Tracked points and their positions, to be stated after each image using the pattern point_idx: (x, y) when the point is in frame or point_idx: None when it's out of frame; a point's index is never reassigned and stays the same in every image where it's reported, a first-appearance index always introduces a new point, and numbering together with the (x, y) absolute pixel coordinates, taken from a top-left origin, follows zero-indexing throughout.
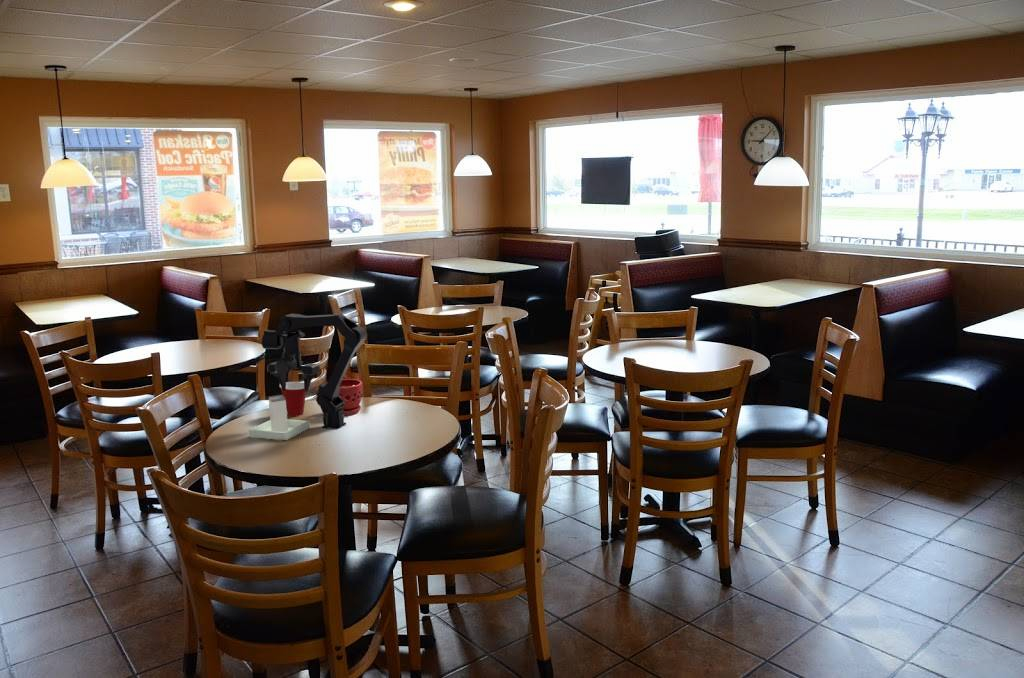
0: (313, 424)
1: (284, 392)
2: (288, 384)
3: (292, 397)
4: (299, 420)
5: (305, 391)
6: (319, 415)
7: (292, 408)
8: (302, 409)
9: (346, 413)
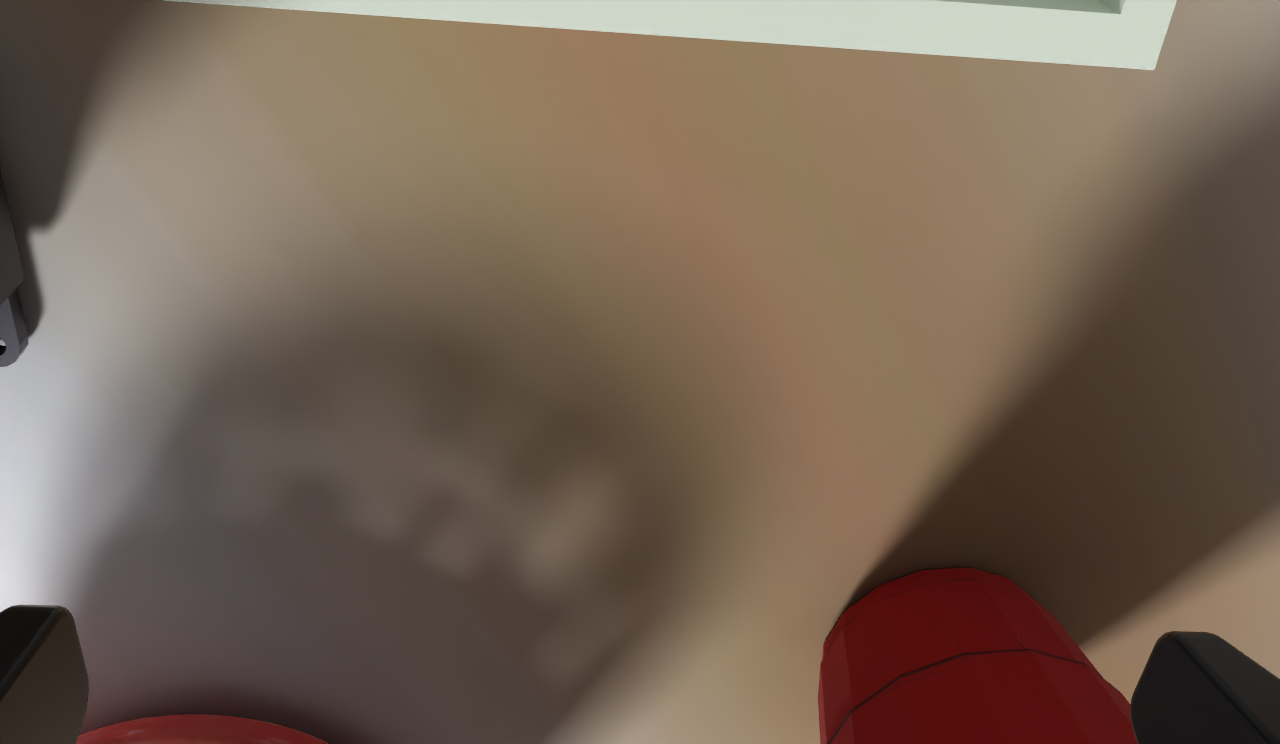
0: (323, 235)
1: None
2: None
3: None
4: (434, 4)
5: (18, 609)
6: (531, 665)
7: (967, 654)
8: (823, 715)
9: None
